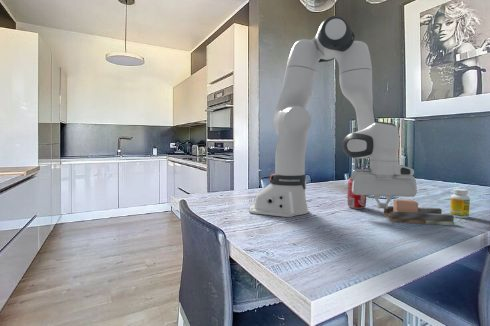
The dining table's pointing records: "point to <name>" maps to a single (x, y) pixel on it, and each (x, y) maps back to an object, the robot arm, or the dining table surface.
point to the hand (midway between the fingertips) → (382, 208)
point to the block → (405, 206)
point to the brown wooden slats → (420, 216)
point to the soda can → (355, 198)
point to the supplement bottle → (460, 203)
